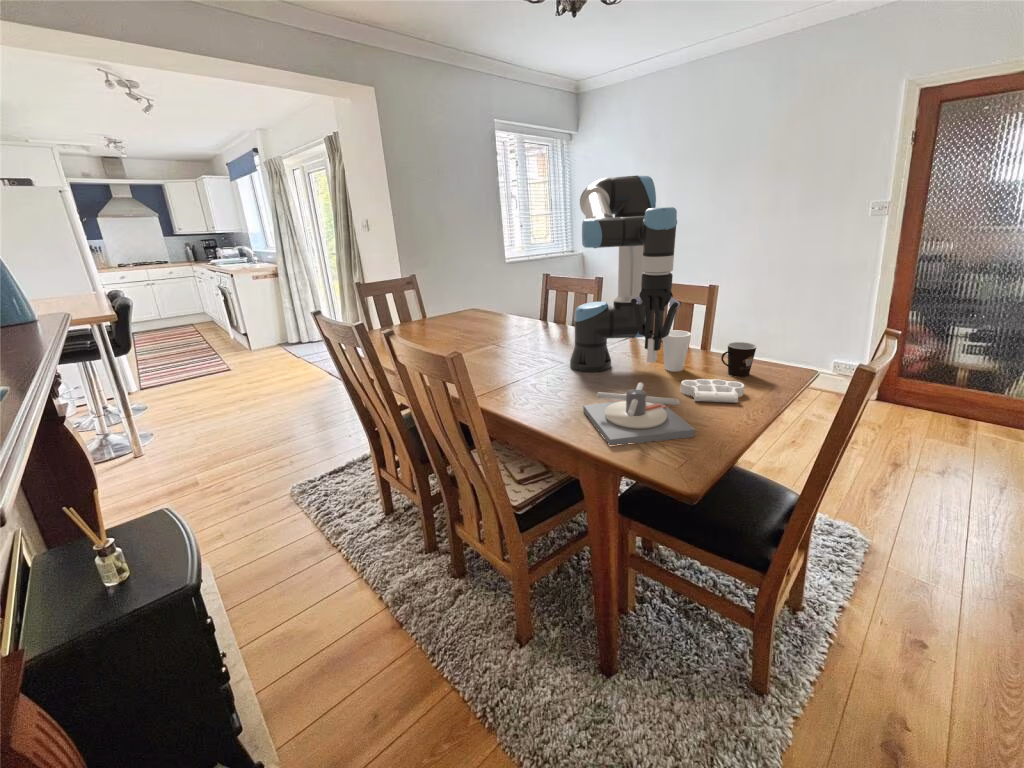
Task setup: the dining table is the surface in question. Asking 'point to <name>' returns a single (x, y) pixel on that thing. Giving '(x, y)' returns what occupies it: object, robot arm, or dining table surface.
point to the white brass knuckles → (713, 390)
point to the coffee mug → (739, 358)
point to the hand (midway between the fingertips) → (651, 361)
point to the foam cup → (675, 349)
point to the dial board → (623, 435)
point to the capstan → (636, 409)
